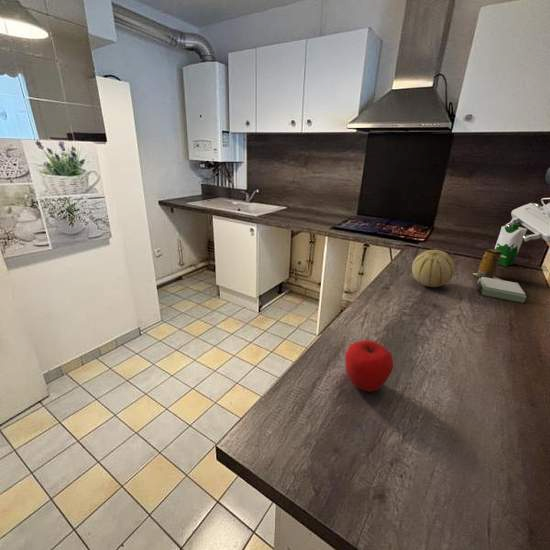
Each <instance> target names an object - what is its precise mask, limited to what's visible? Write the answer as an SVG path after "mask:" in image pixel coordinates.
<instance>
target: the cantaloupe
mask: <svg viewBox="0 0 550 550" xmlns="http://www.w3.org/2000/svg"><path fill="white" fill-rule="evenodd" d="M411 265H412V266H411V272H412V275H413V277H414V279H415V280H416V281H417V282H418V283H419V284H421V285H422V286H425V287H427V288H428V287H429V288H438V287H442V286H444V285H446V284H448V283H449V282H450V281H451V280H452V279H453V277H454V275H455V271H456V265H455V262H454V259H452V257H451V255H449V254H448V253H447V252H445V251H443V250H440V249H428V250H424V251H423V252H421V253H419V254H418V255H417V256H416V257H415V259H414V260H413V262H412V264H411Z"/></svg>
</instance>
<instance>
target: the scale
mask: <svg viewBox="0 0 550 550" xmlns="http://www.w3.org/2000/svg"><path fill="white" fill-rule="evenodd" d="M477 286H478V288H479V291H480V293H481V295H482V296H487V297H492V298H497V299H502V300H507V301H511V302H512V301H513V302H518V303H523V304H525V302H526V300H527V295H526V293H525V291H524V290H523V288H522V287H521V286H520V284H519V282H513V281H508V280H504V279H501V280H498V279H492V278H487V277H478V281H477Z"/></svg>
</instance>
